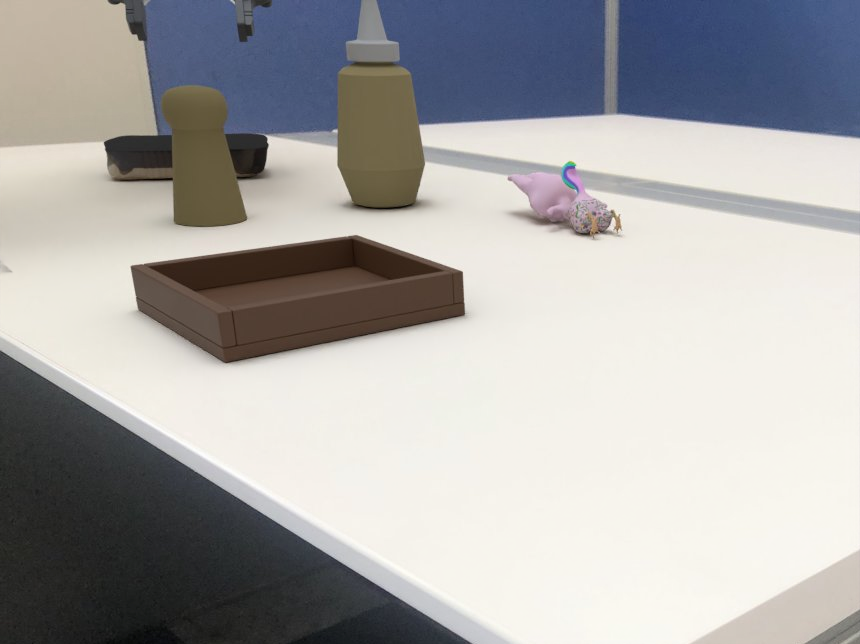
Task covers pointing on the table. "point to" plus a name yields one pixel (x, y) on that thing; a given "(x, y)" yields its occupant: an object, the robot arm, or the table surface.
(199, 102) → the cork
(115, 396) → the table surface
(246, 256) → the tray
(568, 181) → the pink figurine
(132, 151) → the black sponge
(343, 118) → the squeeze bottle
